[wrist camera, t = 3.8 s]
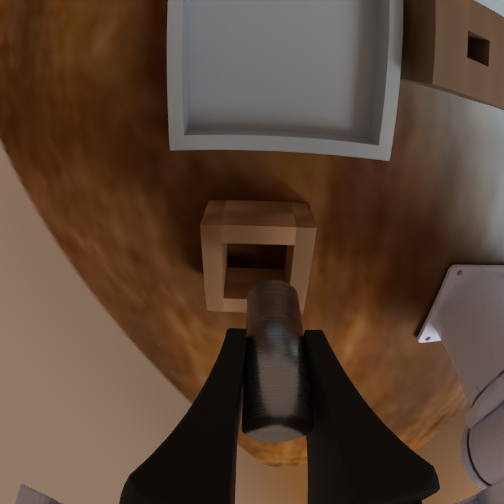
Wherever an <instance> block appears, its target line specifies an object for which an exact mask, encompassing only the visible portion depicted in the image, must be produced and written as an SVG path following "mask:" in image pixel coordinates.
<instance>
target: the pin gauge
mask: <svg viewBox="0 0 504 504" xmlns="http://www.w3.org/2000/svg"><path fill="white" fill-rule="evenodd" d="M246 329H247V331H246V359H245V367H244V384H243V409H242V431H243V433H244V434H245V435H247V436H248V437H250V438H253V439H256V440H261V441H269V442H280V441H289V440H293V439H297V438H300V437H303V436H305V435H307V434H309V433H310V432H311V431H312V430H313V429H314V426H315V424H314V414H313V405H312V397H311V388H310V380H309V372H308V364H307V358H306V350H305V343H304V333H303V326H302V319H301V312H300V305H299V298H298V293H297V291H296V290H295V288H294V287H293V286H291V285H290V284H288V283H286V282H284V281H280V280H267V281H263V282H261V283H258V284H257V285H255V286H254V287H253V288H252V289H251V290H250V291H249V293H248V296H247V310H246Z"/></svg>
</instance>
